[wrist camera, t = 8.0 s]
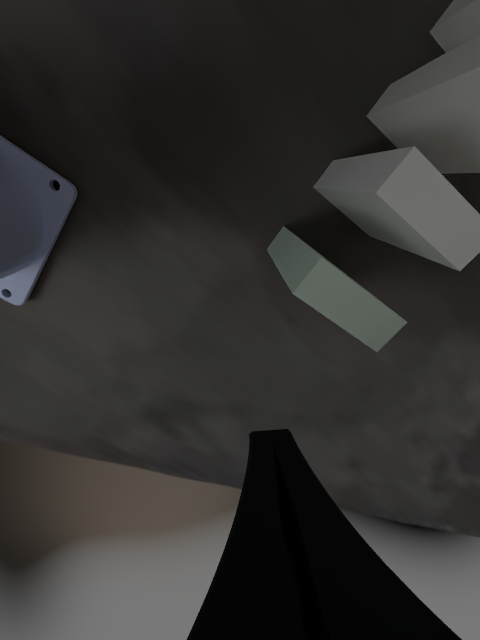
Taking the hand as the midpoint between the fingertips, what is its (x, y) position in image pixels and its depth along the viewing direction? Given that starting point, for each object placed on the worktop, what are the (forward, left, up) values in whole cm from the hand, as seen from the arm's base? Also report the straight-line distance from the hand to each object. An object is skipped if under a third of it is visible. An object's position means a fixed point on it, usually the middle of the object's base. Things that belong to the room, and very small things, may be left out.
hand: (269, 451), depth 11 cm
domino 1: (0, +14, -10) cm, 17 cm away
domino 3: (0, +5, -10) cm, 11 cm away
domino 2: (0, +10, -10) cm, 14 cm away
